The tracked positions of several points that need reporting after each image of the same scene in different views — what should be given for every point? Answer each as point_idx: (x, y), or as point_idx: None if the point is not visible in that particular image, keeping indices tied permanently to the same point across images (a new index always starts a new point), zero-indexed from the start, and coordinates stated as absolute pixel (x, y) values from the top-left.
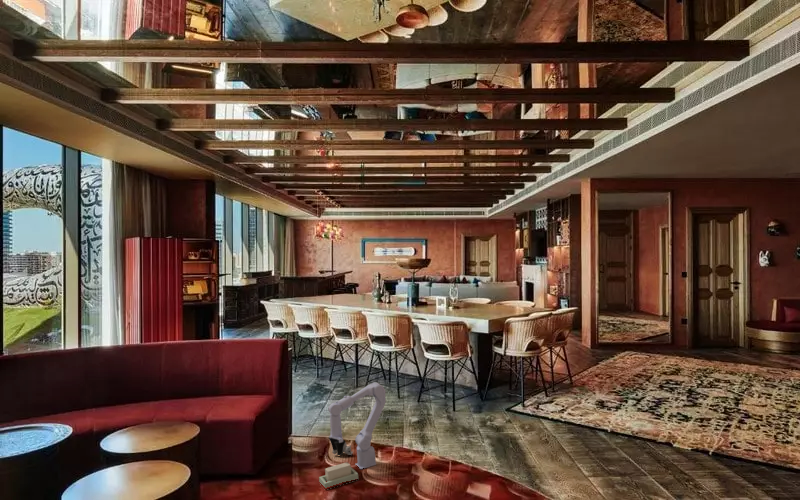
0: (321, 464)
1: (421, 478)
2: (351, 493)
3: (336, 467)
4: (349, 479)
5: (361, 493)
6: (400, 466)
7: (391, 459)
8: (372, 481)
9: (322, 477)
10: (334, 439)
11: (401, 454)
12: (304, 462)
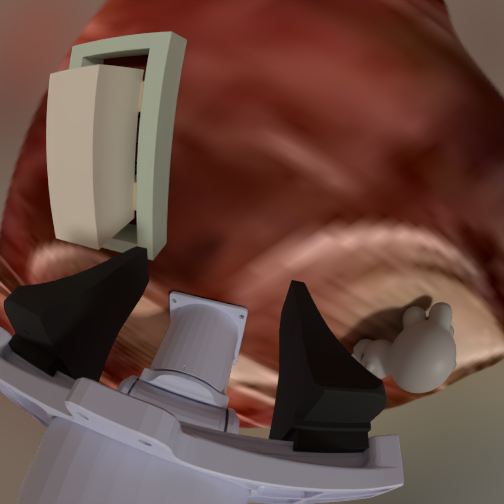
0: (428, 194)
1: None
2: (21, 146)
3: (63, 148)
4: None
5: (11, 177)
6: (119, 364)
7: None
8: (57, 253)
9: (150, 50)
10: (288, 399)
11: None
12: None
